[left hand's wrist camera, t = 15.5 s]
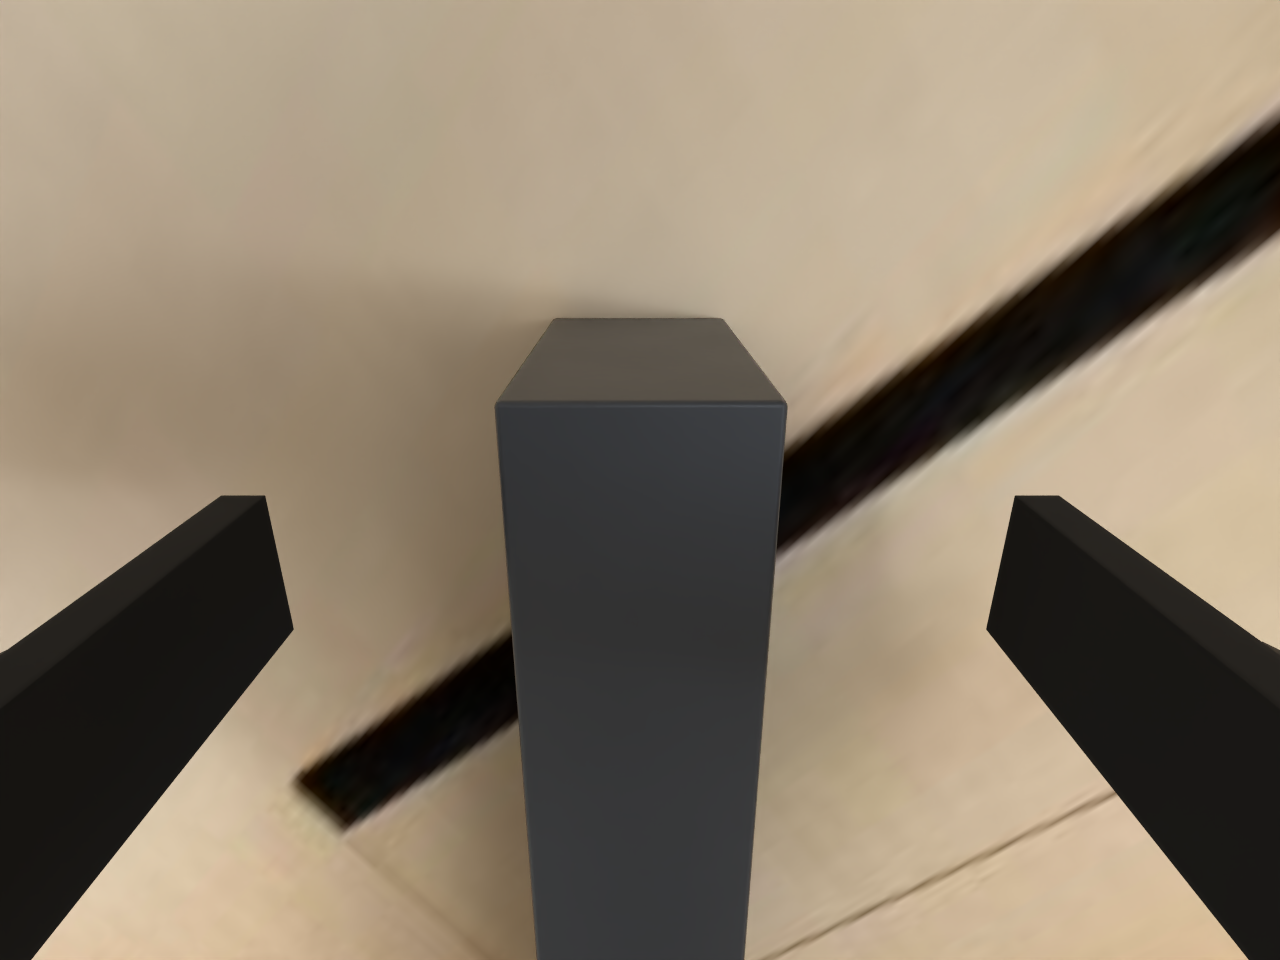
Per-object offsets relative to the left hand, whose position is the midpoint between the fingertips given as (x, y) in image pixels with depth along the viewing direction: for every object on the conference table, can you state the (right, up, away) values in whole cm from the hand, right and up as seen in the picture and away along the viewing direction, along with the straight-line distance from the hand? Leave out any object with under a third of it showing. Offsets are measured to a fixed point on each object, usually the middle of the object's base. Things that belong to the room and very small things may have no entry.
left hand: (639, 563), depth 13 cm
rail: (0, -10, +10) cm, 14 cm away
